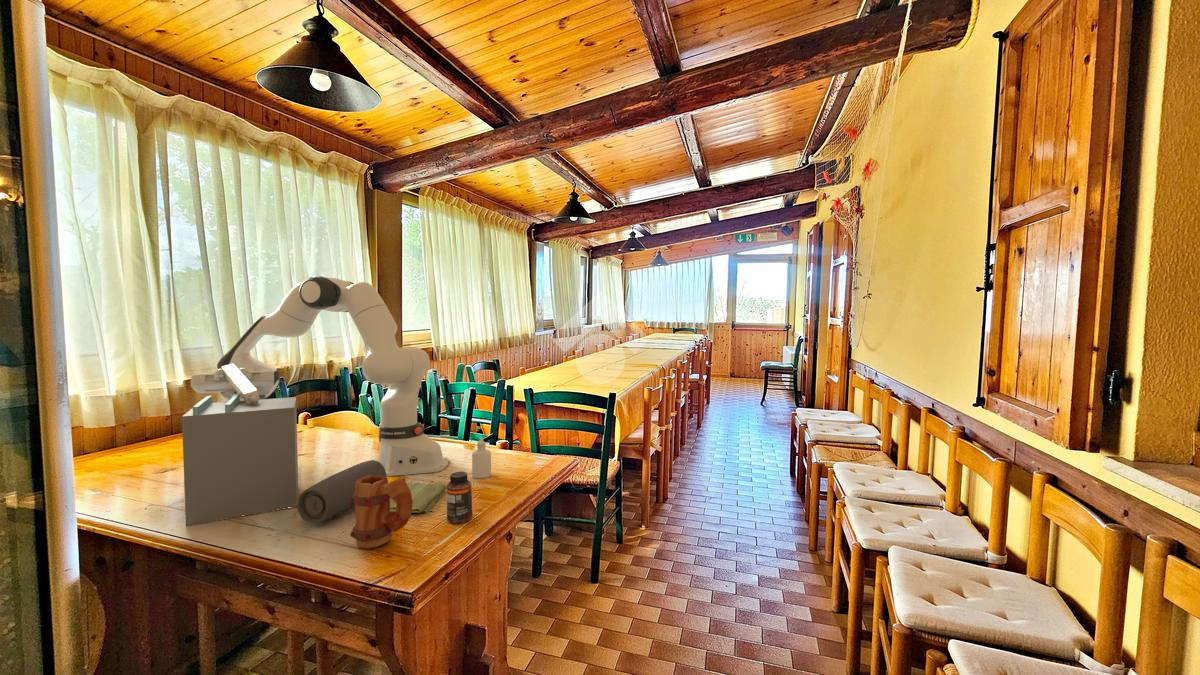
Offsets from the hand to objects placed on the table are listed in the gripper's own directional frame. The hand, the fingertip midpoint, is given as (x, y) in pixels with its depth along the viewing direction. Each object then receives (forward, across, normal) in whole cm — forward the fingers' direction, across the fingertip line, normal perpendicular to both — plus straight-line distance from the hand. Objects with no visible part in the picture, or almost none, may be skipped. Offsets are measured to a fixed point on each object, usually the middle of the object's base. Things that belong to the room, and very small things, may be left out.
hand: (231, 370), depth 141 cm
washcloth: (+20, +43, +51) cm, 70 cm away
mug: (+40, +32, +62) cm, 80 cm away
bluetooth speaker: (+18, +27, +49) cm, 58 cm away
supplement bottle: (+36, +50, +59) cm, 86 cm away
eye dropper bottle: (+12, +64, +45) cm, 80 cm away
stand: (+3, +5, +40) cm, 40 cm away
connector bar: (+5, +3, +8) cm, 10 cm away
